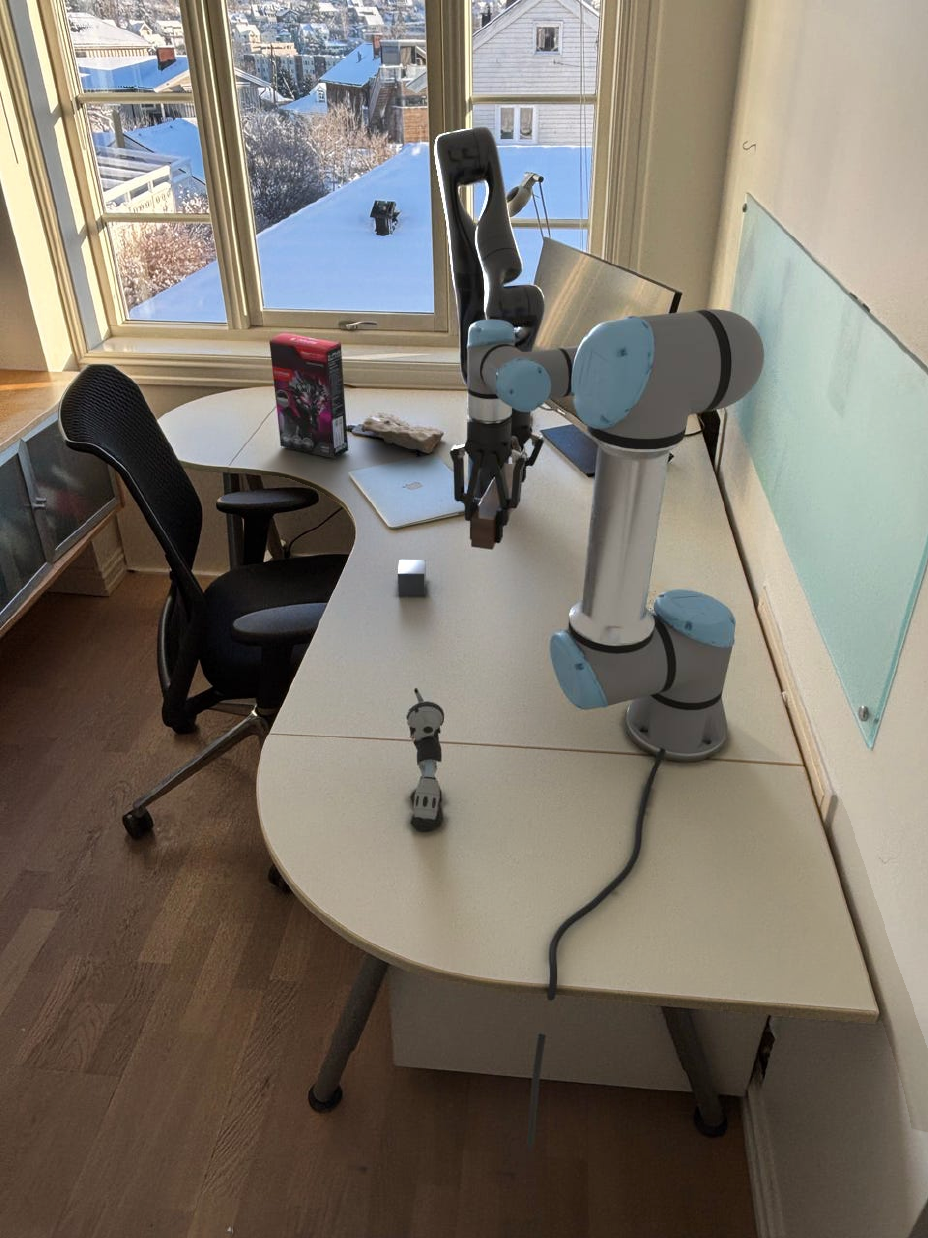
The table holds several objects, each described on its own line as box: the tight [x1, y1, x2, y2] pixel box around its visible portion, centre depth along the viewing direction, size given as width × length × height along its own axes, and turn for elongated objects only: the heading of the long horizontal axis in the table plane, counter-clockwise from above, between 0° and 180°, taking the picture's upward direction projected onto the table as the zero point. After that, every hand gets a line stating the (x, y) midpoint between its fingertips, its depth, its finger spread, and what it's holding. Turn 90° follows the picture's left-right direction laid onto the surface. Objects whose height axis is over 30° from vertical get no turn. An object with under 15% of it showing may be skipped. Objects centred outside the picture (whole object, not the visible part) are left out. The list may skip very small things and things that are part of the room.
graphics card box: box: [268, 332, 349, 459], centre depth 224 cm, size 17×7×27 cm, turn 62°
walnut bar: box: [470, 463, 515, 551], centre depth 173 cm, size 24×4×6 cm, turn 165°
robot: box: [405, 687, 445, 833], centre depth 123 cm, size 20×5×20 cm, turn 3°
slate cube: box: [397, 559, 427, 597], centre depth 176 cm, size 5×5×5 cm
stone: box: [360, 412, 444, 454], centre depth 233 cm, size 21×15×6 cm
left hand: (507, 481), depth 180 cm, fingers closed on walnut bar, 4 cm apart
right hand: (486, 537), depth 168 cm, fingers open, 4 cm apart
